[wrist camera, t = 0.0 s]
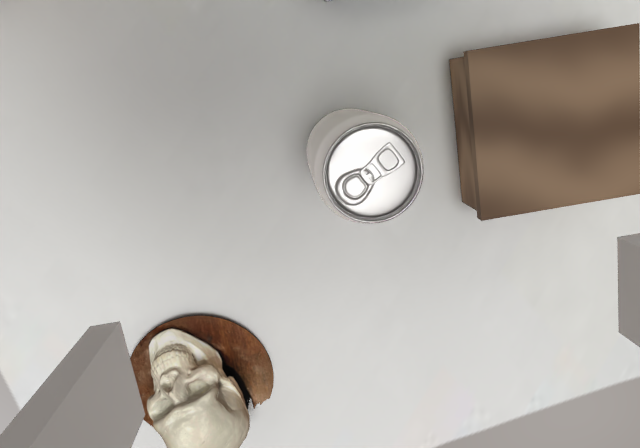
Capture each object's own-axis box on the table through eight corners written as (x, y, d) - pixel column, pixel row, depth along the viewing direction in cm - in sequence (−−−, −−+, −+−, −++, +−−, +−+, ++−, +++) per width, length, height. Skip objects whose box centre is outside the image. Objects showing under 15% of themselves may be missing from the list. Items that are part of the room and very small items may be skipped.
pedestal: (445, 56, 39) (467, 51, 35) (596, 31, 40) (639, 23, 35) (458, 206, 42) (481, 220, 38) (599, 182, 43) (640, 193, 38)
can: (288, 145, 40) (290, 166, 29) (354, 89, 40) (383, 88, 28) (341, 208, 42) (363, 253, 30) (406, 156, 41) (454, 181, 30)
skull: (85, 360, 42) (134, 371, 35) (187, 292, 49) (248, 288, 41) (157, 477, 45) (218, 511, 37) (245, 397, 51) (312, 412, 44)
